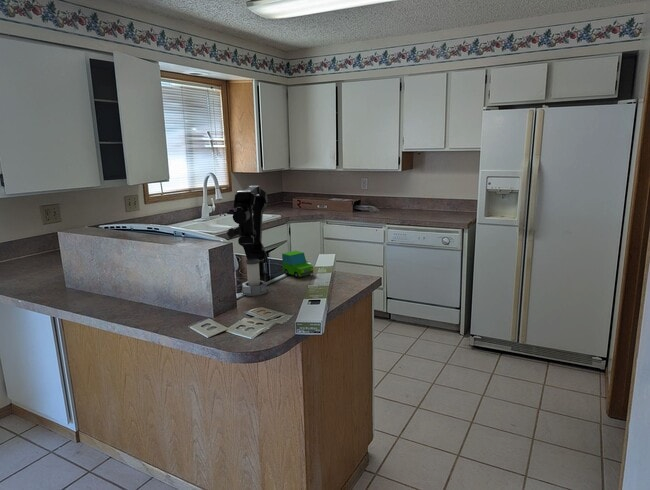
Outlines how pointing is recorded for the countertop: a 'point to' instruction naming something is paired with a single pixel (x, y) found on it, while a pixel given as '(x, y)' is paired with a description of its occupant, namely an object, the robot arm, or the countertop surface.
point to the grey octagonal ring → (254, 289)
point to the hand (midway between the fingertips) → (248, 255)
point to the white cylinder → (253, 272)
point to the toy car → (296, 264)
